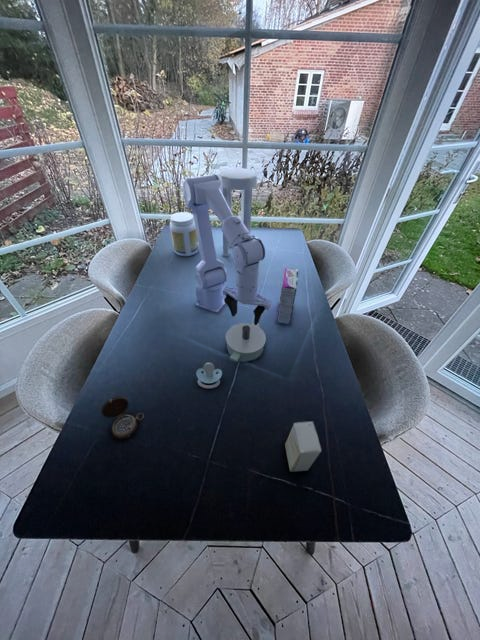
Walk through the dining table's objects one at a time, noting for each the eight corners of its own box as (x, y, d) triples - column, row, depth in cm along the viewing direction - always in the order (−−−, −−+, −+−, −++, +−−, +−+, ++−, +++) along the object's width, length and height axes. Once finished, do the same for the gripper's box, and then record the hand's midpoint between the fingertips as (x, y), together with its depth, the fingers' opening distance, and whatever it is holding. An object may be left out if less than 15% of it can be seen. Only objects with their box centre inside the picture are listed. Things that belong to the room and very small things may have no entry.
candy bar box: (278, 303, 102) (284, 267, 91) (291, 305, 101) (299, 269, 90) (275, 323, 94) (281, 286, 83) (289, 325, 93) (297, 288, 82)
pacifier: (220, 390, 74) (222, 372, 79) (220, 378, 70) (222, 359, 74) (194, 388, 75) (198, 370, 79) (192, 376, 70) (196, 358, 74)
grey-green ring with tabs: (216, 359, 82) (216, 350, 79) (240, 325, 93) (240, 316, 90) (250, 373, 78) (251, 364, 75) (271, 336, 90) (272, 327, 87)
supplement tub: (195, 243, 136) (191, 209, 124) (202, 254, 128) (199, 219, 116) (171, 247, 132) (165, 213, 120) (177, 259, 124) (171, 224, 112)
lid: (217, 344, 81) (217, 332, 78) (238, 320, 89) (239, 309, 86) (253, 361, 77) (254, 350, 73) (272, 334, 85) (274, 323, 81)
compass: (116, 445, 63) (106, 431, 58) (106, 419, 68) (96, 404, 63) (149, 425, 66) (142, 411, 61) (137, 402, 71) (130, 387, 66)
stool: (224, 242, 137) (222, 166, 112) (253, 245, 135) (258, 168, 111) (218, 258, 125) (215, 177, 101) (250, 261, 124) (255, 180, 100)
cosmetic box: (284, 444, 64) (292, 421, 55) (302, 443, 64) (313, 420, 56) (290, 473, 59) (299, 452, 51) (309, 471, 60) (322, 451, 51)
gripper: (277, 282, 72) (272, 318, 82) (230, 268, 77) (230, 303, 86) (267, 296, 68) (262, 333, 77) (218, 280, 72) (219, 316, 82)
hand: (245, 318), depth 81 cm, fingers open, 7 cm apart
